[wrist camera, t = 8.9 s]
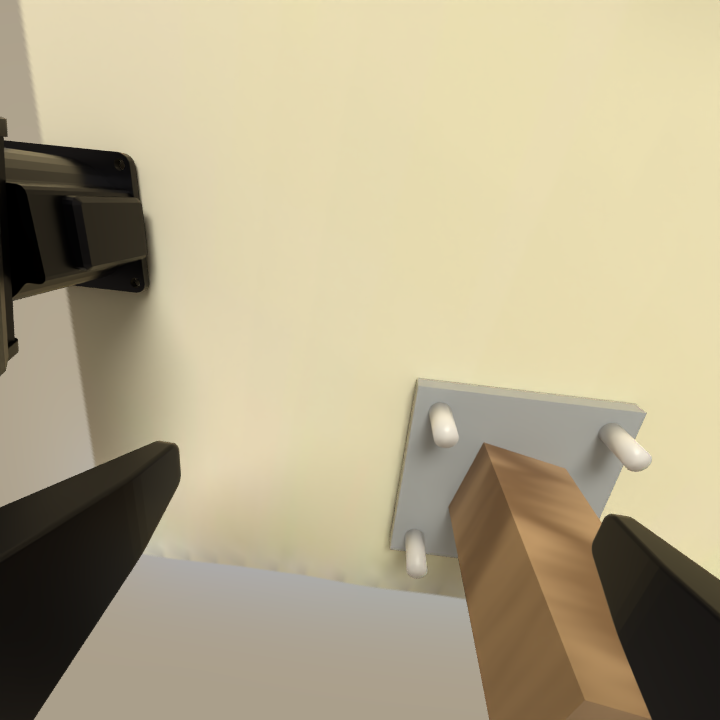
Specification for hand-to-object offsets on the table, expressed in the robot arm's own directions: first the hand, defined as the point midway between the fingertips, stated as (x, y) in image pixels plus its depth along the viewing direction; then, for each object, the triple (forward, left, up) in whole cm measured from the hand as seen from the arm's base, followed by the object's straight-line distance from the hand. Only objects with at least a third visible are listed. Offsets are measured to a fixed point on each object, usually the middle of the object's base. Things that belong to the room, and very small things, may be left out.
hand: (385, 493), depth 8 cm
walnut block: (+8, -9, -12) cm, 17 cm away
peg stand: (+8, -9, -13) cm, 18 cm away
